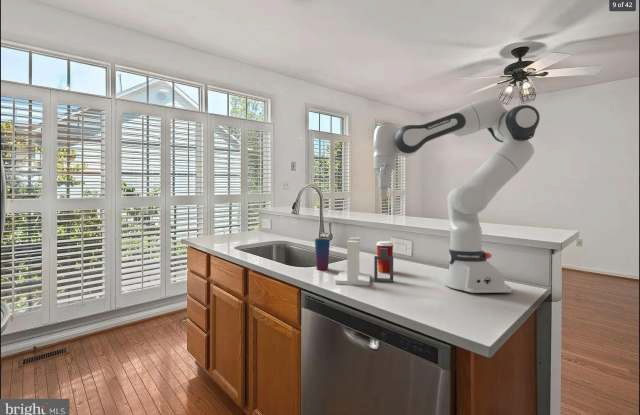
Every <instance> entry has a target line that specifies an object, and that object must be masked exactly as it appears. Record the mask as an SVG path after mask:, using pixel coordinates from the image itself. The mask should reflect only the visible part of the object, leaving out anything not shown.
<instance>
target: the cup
mask: <svg viewBox="0 0 640 415" xmlns="http://www.w3.org/2000/svg"><path fill="white" fill-rule="evenodd" d="M330 242H331V239H330V238H326V237H323V238H322V237H320V238H314V246H315V264H316V270H317V271H321V272H324V271H328V270H329V258H330V245H331V244H330Z"/></svg>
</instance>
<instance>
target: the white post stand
mask: <svg viewBox="0 0 640 415" xmlns="http://www.w3.org/2000/svg"><path fill="white" fill-rule="evenodd" d="M346 246H347V248H346V249H347V250H346V252H347V254H346V257H347V259H346V260H347V261H346V262H347V265H346V266H347V267H346V268H347V269H346V271H339V272H338V274H337V276H336V279H335V285H345V286H346V285H347V286H370V285H371V284H370V283H371V273H370V272H360V237H349V240H347V245H346Z"/></svg>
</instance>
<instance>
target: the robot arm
mask: <svg viewBox="0 0 640 415" xmlns="http://www.w3.org/2000/svg"><path fill="white" fill-rule="evenodd" d="M540 118H541V117H540V112H539V111H538V109H537V108H536V107H534V106H532V105H529V104H523V105H522V104H521V105H516V106H514V107H513V108H512V109H510V110H508V109H506V108H505V106H504V104H503V103H502V101H501V99H499V98H496V97H488V98H482V99H479V100H476V101H472V102H470V103H468V104H465V105H463V106H460V107H459V108H456V109H455V110H453V111H452V112H450V113H449V114H447V115H446V116H443V117H440V118H438V119H435V120H432V121H430V122H426V123H424V124H423V123H422V124H408V125H407V124H406V125H405V126H402V127H401V128H400V127H398V126H397V125H395V124H394V123H392V122H385V123H381V124H380V125H378V126H377V127H376V128H375V129H374V131H373V143H372V144H373V145H372V146H373V156H372V157H373V158H372V169H373V171H376V172H375V173H376V174H377V182H378V189H379V190H380V193H381V194H380V195H381V200H382V201H383V200H384V201H385V200H387V198H388V189H389V187H391V174H393V171H394V170H396V156H397V157H398V156H400V157H405V158H407V157H408V158H409V157H411V156H414V155H415V154H416V153H417V152H418V151H419V150H420V149H421V148H422V147H423V146H424V145H425V144H426V143H428V142H430V141H432V140H435V139H438V138H441V137H444V136H447V135H454V136H457V137H464V136H468V135H471V134H474V133H477V132H480V131H482V130H485V129H487V131H488V132H489V133H490V134H491V136H492V137H493V139H494V140H495V141H496V142H499V143H502V144H501V146H500V147H499V148H498V149H497V150H496V151H495V152H494V153H492V155H491V156H489V157H488V159H486V160H485V161H484V162H483V163H482V164H481V165H480V166H479V167H478V168H477V169H476V170H475V171H474V173H473V174H472V175H471V176H470V178H468V180H467V181H466V182H465V183H464V184H462V185H461V186H456V187H454V188H453V189H452V190H450V191H449V193H448V194H447V197H446V203H447V213H448V221H449V228H450V229H449V231H450V233H449V235H450V238H449V239H450V240H449V241H450V242H449V243H450V245H449V250H448V263H449V268H448V275H447V278H446V282H445V285H446V286H447V287H448V288H451V289H454V290H459V291H464V292H468V293H471V294H473V293H474V294H475V293H477V294H481V293H484V294H486V293H488V294H489V293H490V294H491V293H511V292H512V286H510V285H508V284H506V283H505V278H504V274H503V272H502V271H501V270H500V269H498V268H497V267H495V266H494V265H493V264H492V263H490V262H489V261H488V259H491V258H492V254H491V252H490V253H489V252H485V251H484V250H483V249H482V247H483V245H482V243H483V242H482V241H483V240H482V238H483V237H482V236H483V235H482V234H483V233H482V232H483V230H482V227H481V224H480V220H479V213H481V212H482V211H483V210H485V209H486V208H487V207H488V206H489V203H491V201H492V200H493V199H494V198H495V196H496V194H497V193H498V192H499V191H500V190H501V189H502V188H503V187H504V186H505V185H506V184H508V182H509V181H510V180H512V179H513V178H514V177H515V175H517V174H518V173H519V172H520V171H521V170H522V169H523V168H524V167H525V166H526V164H528V163H529V161H530V160H531V158H532V157H533V155H534V153H535V149H534V146H533V144H532V143H531V142H530V140H531V139H532V138H534V135H535V133H536V130H537V128H538V125H539V123H540Z"/></svg>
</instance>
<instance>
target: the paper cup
mask: <svg viewBox="0 0 640 415" xmlns="http://www.w3.org/2000/svg"><path fill="white" fill-rule="evenodd" d="M380 248H388V256H393V252H394V251H393V250H394V242H393V241H387V240H386V241H385V240H384V241H383V240H380V241H377V242H376V249H377V250H376V253H377V255H376V256H380ZM377 272H379V273H380V274H381V273H382V274H390V260H378V259H377Z"/></svg>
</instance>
